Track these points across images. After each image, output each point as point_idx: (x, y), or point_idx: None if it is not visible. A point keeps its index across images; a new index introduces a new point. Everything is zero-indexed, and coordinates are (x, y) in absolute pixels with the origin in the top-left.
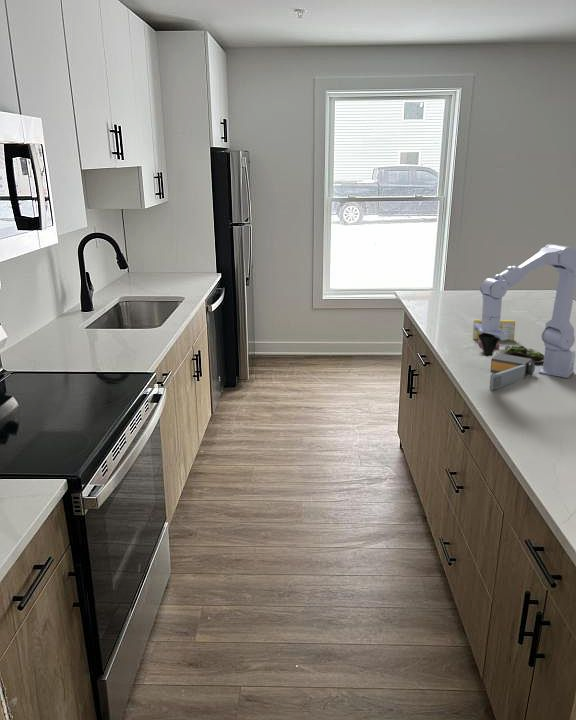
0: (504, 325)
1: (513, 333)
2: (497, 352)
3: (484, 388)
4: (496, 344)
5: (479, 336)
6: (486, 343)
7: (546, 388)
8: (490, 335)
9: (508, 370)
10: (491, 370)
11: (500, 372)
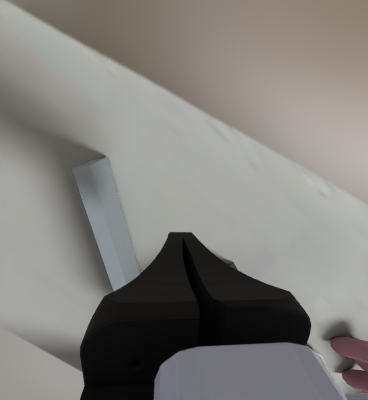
0: None
1: None
2: (317, 355)
3: (124, 149)
4: (354, 382)
5: (275, 296)
6: (162, 274)
7: (52, 302)
8: (143, 398)
9: (109, 264)
10: (232, 266)
11: (100, 224)
